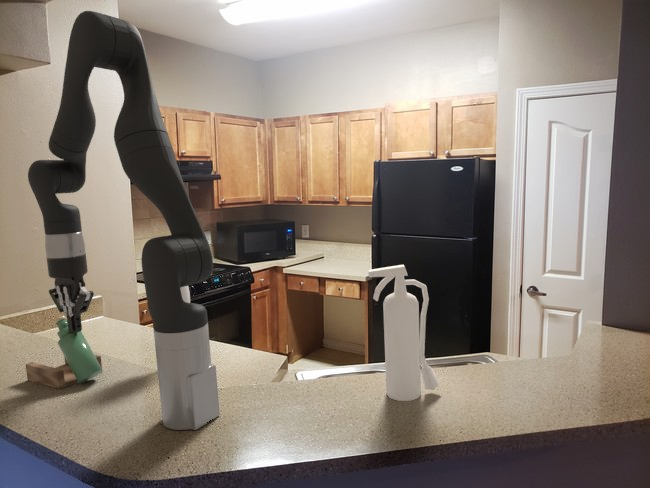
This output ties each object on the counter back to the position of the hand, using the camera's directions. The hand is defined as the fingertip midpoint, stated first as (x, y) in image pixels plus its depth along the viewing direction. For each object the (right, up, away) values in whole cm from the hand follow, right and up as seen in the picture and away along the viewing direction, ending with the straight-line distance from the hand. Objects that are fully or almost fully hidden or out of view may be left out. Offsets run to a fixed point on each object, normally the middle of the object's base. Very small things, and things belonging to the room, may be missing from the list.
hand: (75, 331), depth 108 cm
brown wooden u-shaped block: (-4, -11, +4) cm, 13 cm away
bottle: (+4, -10, -1) cm, 10 cm away
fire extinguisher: (+71, -10, -14) cm, 73 cm away
